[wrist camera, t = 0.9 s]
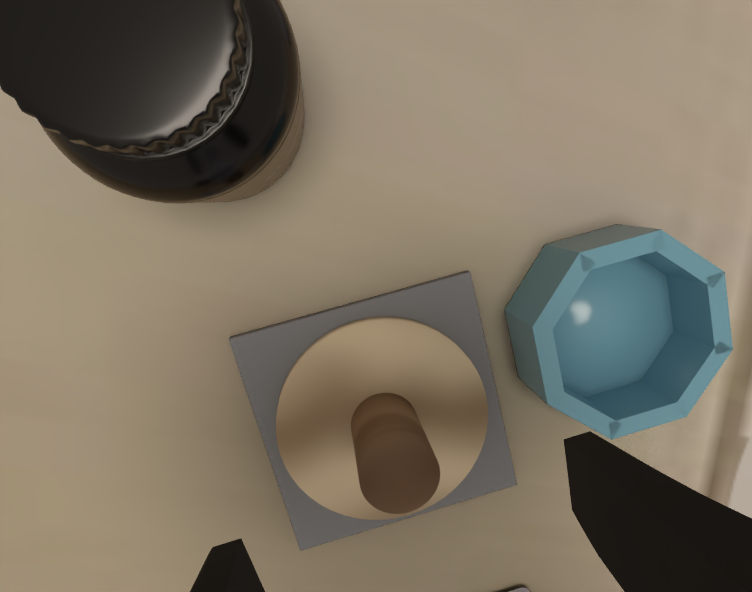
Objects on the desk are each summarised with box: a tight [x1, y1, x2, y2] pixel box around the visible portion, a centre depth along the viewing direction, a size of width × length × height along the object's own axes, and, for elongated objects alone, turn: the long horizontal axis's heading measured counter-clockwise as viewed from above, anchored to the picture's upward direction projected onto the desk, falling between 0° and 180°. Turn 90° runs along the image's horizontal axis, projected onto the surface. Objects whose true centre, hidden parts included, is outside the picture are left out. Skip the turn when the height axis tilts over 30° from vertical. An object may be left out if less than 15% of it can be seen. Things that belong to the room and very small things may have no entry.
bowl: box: [505, 224, 733, 439], centre depth 23 cm, size 8×8×3 cm
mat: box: [229, 271, 517, 550], centre depth 24 cm, size 11×11×1 cm
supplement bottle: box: [0, 0, 304, 203], centre depth 15 cm, size 7×7×12 cm
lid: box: [276, 316, 488, 520], centre depth 22 cm, size 10×10×5 cm
